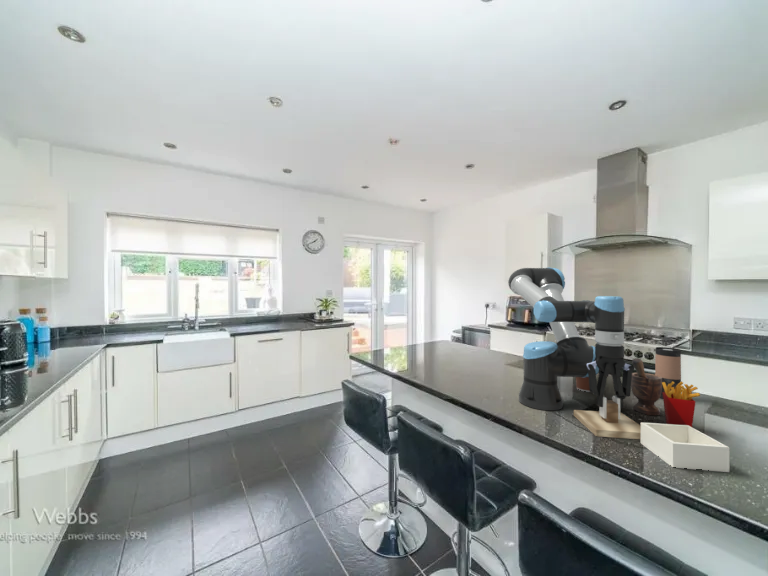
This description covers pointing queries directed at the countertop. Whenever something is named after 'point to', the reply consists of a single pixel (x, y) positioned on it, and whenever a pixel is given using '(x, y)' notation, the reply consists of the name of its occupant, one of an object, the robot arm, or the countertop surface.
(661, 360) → the travel mug
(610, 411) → the lid
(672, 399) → the french fries
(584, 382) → the coffee cup
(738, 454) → the countertop surface
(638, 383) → the mortar and pestle
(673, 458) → the white open storage bin
